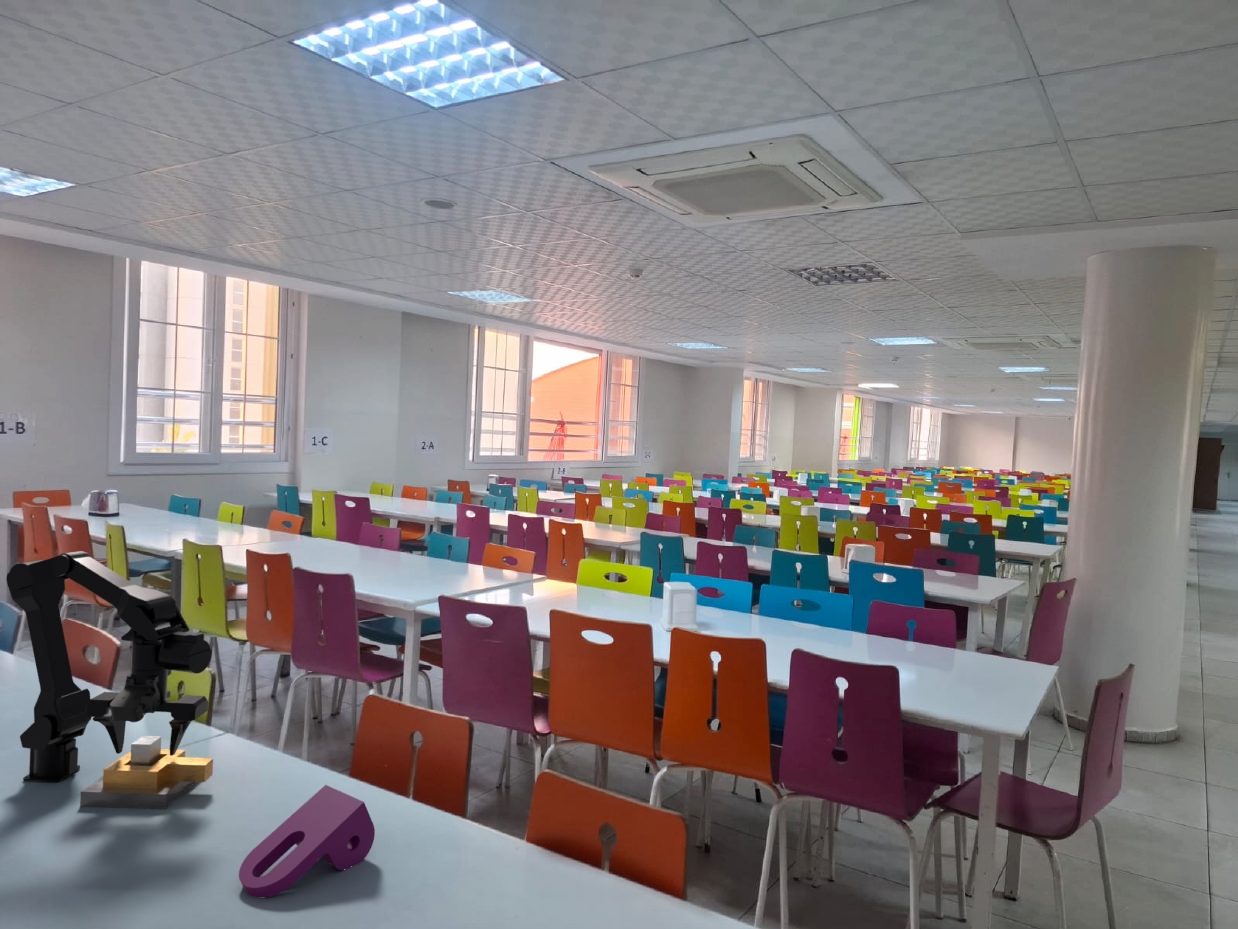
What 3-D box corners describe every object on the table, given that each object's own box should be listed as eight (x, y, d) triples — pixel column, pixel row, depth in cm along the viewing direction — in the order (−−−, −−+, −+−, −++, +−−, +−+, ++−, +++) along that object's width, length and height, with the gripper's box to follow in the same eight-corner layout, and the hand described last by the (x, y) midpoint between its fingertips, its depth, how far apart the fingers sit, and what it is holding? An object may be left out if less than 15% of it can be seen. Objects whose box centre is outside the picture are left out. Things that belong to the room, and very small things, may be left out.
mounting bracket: (285, 939, 116) (381, 842, 129) (263, 897, 112) (364, 802, 126) (247, 914, 121) (342, 823, 134) (225, 873, 118) (325, 784, 131)
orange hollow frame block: (80, 806, 139) (81, 774, 139) (125, 773, 153) (126, 743, 153) (189, 810, 140) (190, 777, 140) (224, 776, 154) (226, 747, 154)
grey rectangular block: (129, 795, 144) (131, 744, 144) (140, 785, 148) (142, 736, 148) (148, 795, 144) (150, 744, 144) (159, 786, 148) (161, 736, 148)
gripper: (67, 677, 137) (63, 770, 138) (181, 682, 138) (177, 774, 139) (105, 659, 148) (101, 745, 149) (211, 664, 149) (207, 749, 150)
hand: (145, 754), depth 146 cm, fingers open, 9 cm apart
